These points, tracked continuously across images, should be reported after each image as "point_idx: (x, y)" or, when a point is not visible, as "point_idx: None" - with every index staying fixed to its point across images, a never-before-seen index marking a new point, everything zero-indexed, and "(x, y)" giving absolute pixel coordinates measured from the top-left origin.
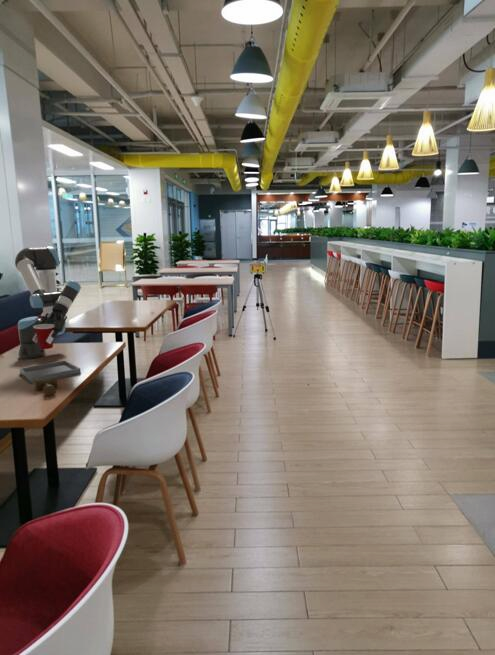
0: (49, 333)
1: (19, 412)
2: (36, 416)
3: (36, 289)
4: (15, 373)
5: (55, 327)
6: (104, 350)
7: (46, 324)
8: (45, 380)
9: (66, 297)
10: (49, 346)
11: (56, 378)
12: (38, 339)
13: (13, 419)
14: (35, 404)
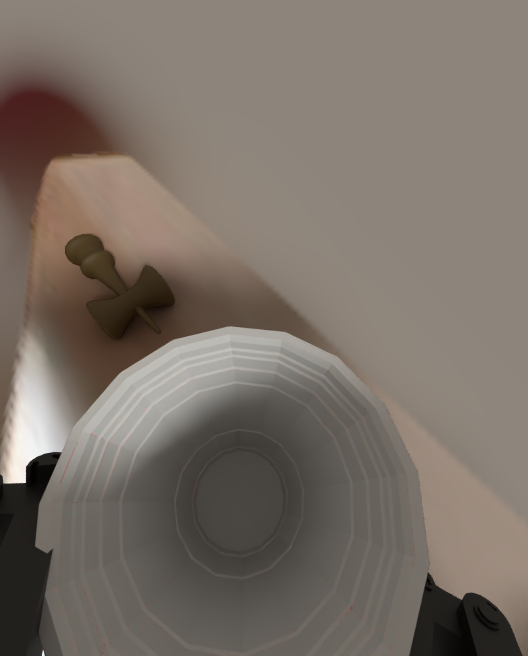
0: (144, 445)
1: (119, 178)
2: (67, 166)
3: None
4: (431, 487)
5: (26, 517)
6: None
7: None
8: (127, 292)
9: None
10: (196, 471)
11: (87, 307)
12: (276, 423)
13: (111, 156)
14: (105, 212)
